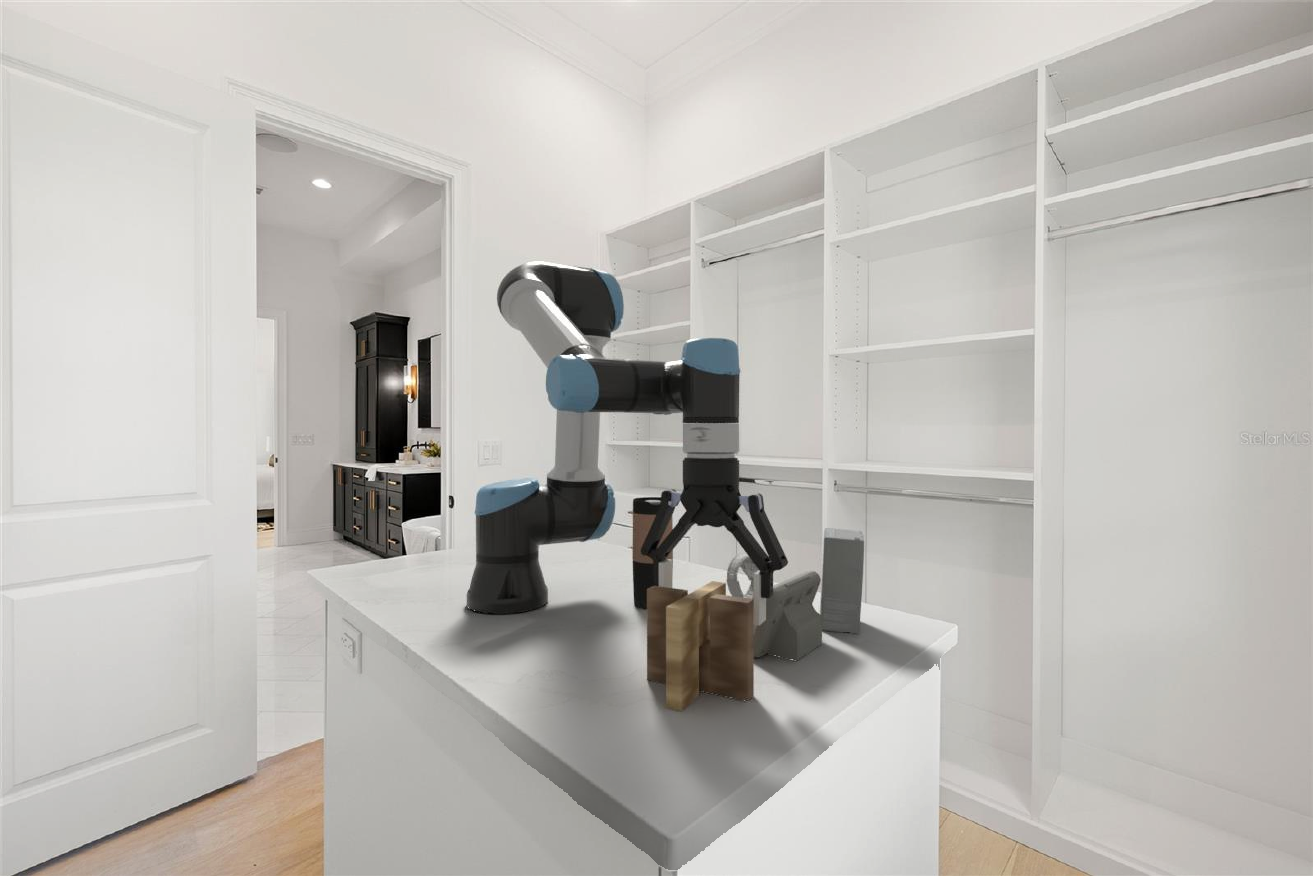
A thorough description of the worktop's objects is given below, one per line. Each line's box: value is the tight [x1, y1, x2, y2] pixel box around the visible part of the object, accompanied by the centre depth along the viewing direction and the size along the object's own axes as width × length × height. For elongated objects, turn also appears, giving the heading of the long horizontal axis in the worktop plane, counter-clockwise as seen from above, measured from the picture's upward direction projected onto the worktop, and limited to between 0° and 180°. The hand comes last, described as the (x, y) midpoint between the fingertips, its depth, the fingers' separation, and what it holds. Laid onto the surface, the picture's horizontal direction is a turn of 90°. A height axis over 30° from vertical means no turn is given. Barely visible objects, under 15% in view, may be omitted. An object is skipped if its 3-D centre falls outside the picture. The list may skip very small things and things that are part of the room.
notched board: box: [665, 580, 727, 712], centre depth 78 cm, size 14×2×12 cm, turn 152°
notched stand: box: [646, 586, 755, 702], centre depth 78 cm, size 14×2×12 cm, turn 62°
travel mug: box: [631, 496, 674, 611], centre depth 115 cm, size 8×8×20 cm
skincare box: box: [819, 527, 865, 635], centre depth 103 cm, size 8×7×16 cm
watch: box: [725, 553, 759, 599], centre depth 108 cm, size 6×8×11 cm
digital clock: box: [754, 570, 823, 662], centre depth 93 cm, size 16×9×11 cm, turn 131°
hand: (710, 615), depth 82 cm, fingers open, 13 cm apart
